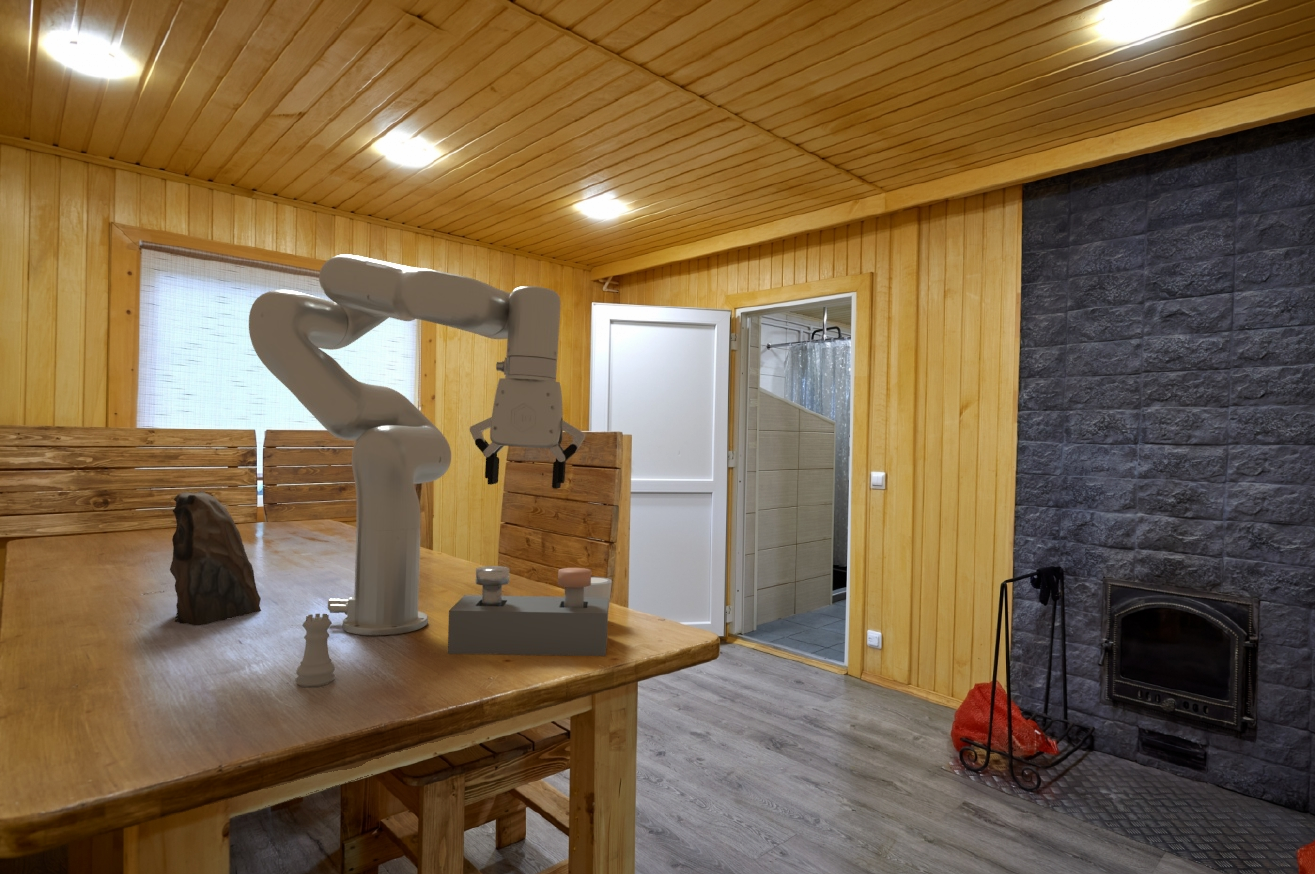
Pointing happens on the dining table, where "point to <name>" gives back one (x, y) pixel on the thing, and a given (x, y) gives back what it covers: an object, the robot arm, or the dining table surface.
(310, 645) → the rook chess piece
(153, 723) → the dining table surface
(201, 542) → the brown rock
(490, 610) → the press console
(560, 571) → the terracotta plug
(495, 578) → the steel plug
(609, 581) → the shot glass
